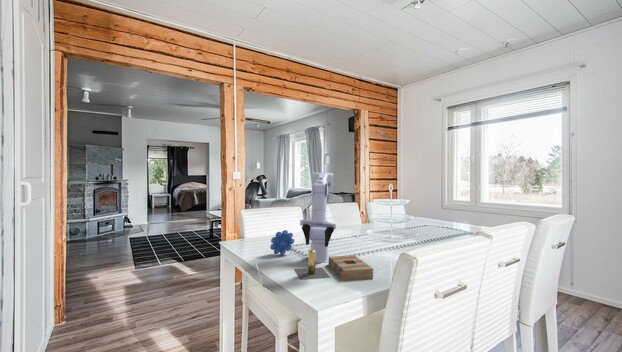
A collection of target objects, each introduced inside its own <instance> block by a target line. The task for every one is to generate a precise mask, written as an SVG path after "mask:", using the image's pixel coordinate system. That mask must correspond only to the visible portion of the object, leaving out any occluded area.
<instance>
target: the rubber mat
mask: <svg viewBox="0 0 622 352" xmlns="http://www.w3.org/2000/svg"><path fill="white" fill-rule="evenodd" d="M293 270H294V272H295V274H296V275H297V277H298V279H299V280H300V281H306V280H317V279H318V280H320V279H330V278H331V276H330V275H329V274H328V273H327V272H326V270H325V269H324V268H323V267H320V266H319V267H316V271H315V274H313V275H311V274H308V267H305V268H293Z"/></svg>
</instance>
